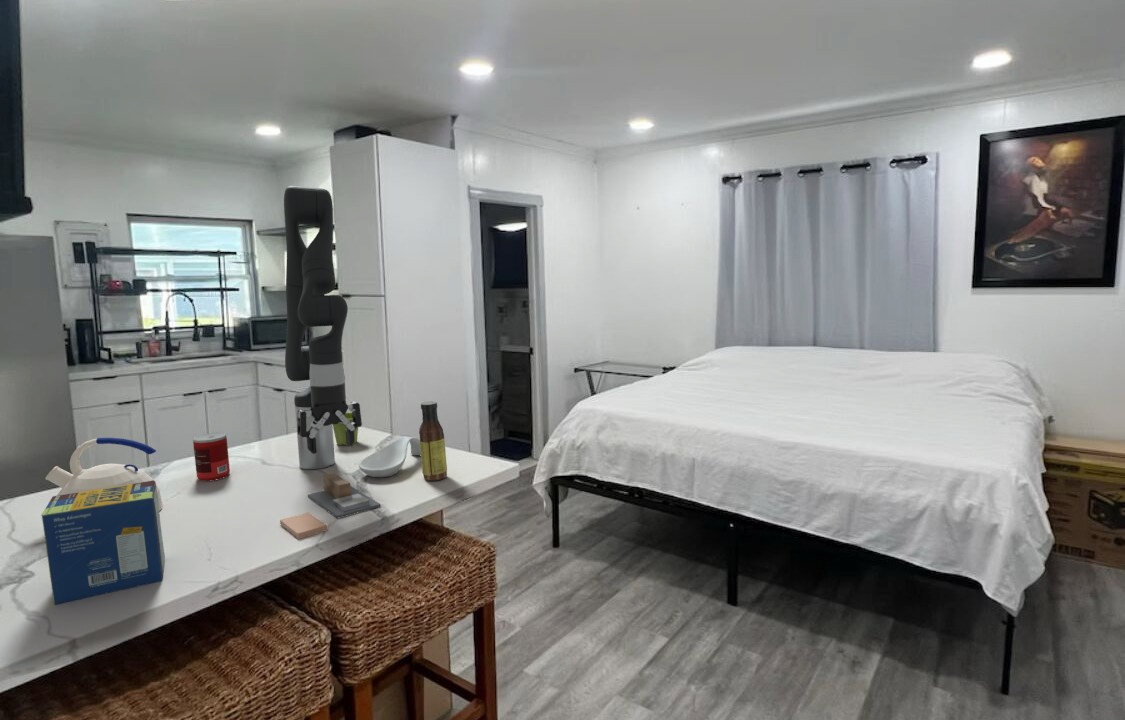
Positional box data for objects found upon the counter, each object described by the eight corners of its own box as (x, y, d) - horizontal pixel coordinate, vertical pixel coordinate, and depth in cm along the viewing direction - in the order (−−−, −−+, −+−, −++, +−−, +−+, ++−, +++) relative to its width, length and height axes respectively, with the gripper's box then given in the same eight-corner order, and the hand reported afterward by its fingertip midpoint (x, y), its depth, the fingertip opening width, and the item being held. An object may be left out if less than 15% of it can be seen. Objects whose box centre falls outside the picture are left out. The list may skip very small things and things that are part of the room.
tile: (279, 519, 133) (297, 533, 126) (308, 512, 138) (327, 525, 130) (280, 527, 134) (298, 541, 126) (308, 519, 138) (327, 532, 131)
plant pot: (368, 442, 197) (366, 415, 195) (339, 449, 190) (337, 421, 189) (354, 437, 203) (352, 411, 202) (325, 443, 197) (323, 416, 195)
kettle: (69, 507, 146) (59, 432, 143) (172, 495, 153) (164, 422, 151) (33, 542, 127) (20, 456, 124) (152, 526, 134) (142, 444, 132)
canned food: (232, 470, 171) (228, 431, 169) (227, 479, 164) (223, 438, 162) (200, 473, 169) (196, 434, 167) (193, 483, 161) (189, 441, 160)
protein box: (63, 579, 111) (51, 495, 109) (165, 558, 119) (156, 479, 117) (52, 606, 102) (39, 515, 100) (163, 581, 110) (154, 496, 108)
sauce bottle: (450, 474, 165) (446, 400, 162) (443, 482, 159) (439, 405, 156) (425, 473, 165) (422, 400, 163) (418, 481, 159) (414, 405, 156)
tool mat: (307, 496, 150) (307, 494, 150) (348, 486, 156) (348, 484, 156) (337, 518, 136) (337, 515, 136) (380, 506, 143) (380, 503, 143)
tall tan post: (317, 492, 151) (316, 476, 150) (341, 486, 155) (340, 471, 154) (343, 511, 139) (342, 494, 138) (369, 504, 143) (368, 487, 142)
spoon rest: (389, 484, 159) (387, 456, 158) (350, 480, 162) (348, 453, 161) (436, 457, 181) (434, 433, 180) (400, 454, 185) (399, 430, 184)
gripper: (351, 375, 153) (354, 439, 155) (290, 383, 144) (295, 451, 146) (363, 380, 147) (367, 446, 150) (301, 388, 138) (306, 459, 141)
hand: (331, 449), depth 148 cm, fingers open, 8 cm apart
